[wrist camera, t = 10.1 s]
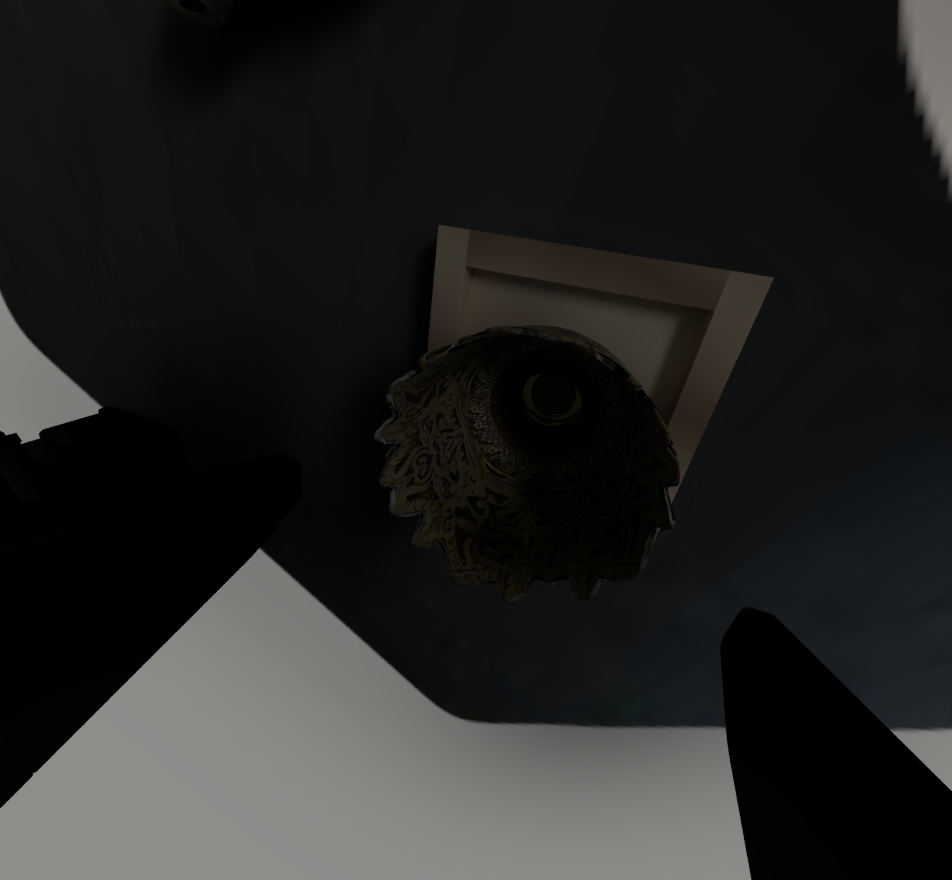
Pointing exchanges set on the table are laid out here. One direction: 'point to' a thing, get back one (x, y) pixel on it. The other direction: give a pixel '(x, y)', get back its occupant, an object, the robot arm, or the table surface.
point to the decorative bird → (204, 10)
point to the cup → (529, 462)
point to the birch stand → (604, 316)
